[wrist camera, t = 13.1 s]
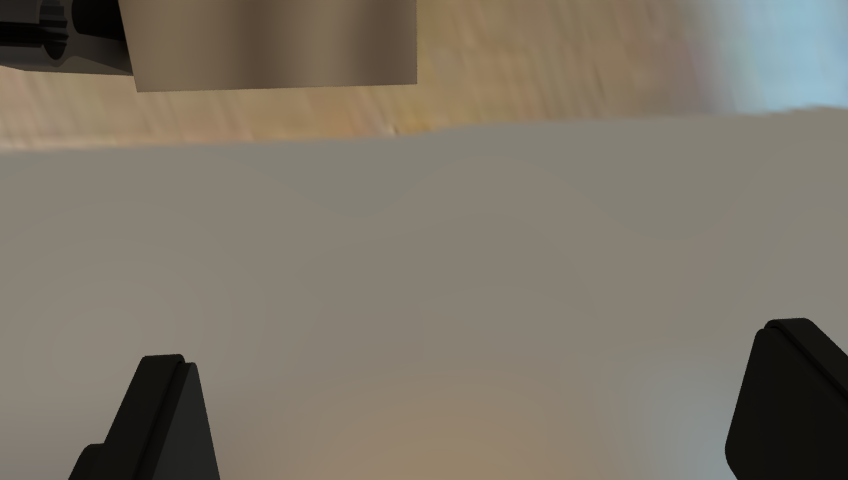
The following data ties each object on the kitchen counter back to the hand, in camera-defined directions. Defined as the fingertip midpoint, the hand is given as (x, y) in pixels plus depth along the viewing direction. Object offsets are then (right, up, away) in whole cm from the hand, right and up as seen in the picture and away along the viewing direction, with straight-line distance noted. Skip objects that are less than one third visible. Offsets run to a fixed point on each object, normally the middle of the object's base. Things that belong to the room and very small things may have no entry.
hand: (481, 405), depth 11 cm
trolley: (-9, +17, +25) cm, 31 cm away
